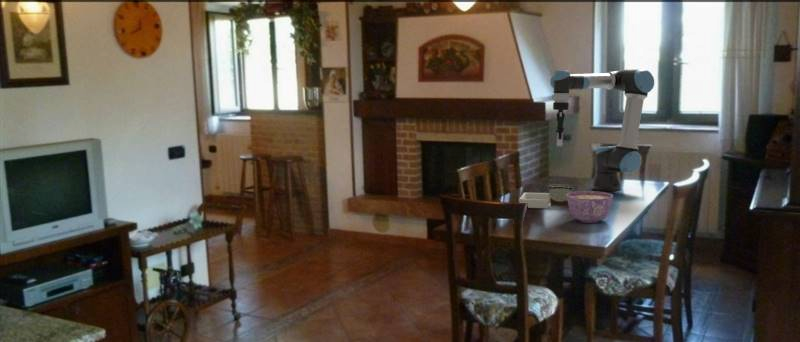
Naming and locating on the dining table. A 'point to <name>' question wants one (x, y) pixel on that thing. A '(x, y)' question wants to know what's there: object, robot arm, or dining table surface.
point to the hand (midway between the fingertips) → (559, 144)
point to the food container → (559, 194)
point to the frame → (535, 200)
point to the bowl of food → (589, 205)
